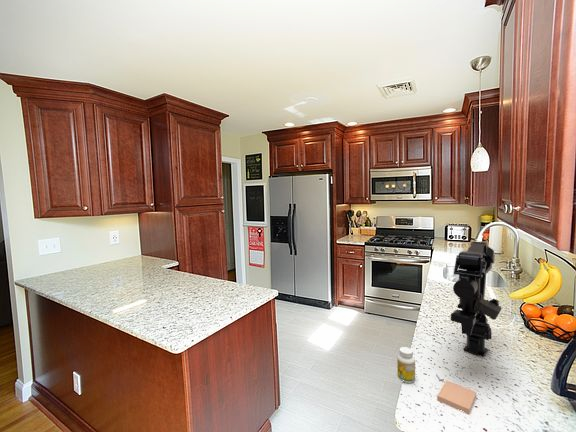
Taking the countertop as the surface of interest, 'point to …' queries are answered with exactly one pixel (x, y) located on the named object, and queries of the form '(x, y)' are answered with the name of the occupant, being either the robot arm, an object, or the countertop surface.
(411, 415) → the countertop surface
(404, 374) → the supplement bottle
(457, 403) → the tile
